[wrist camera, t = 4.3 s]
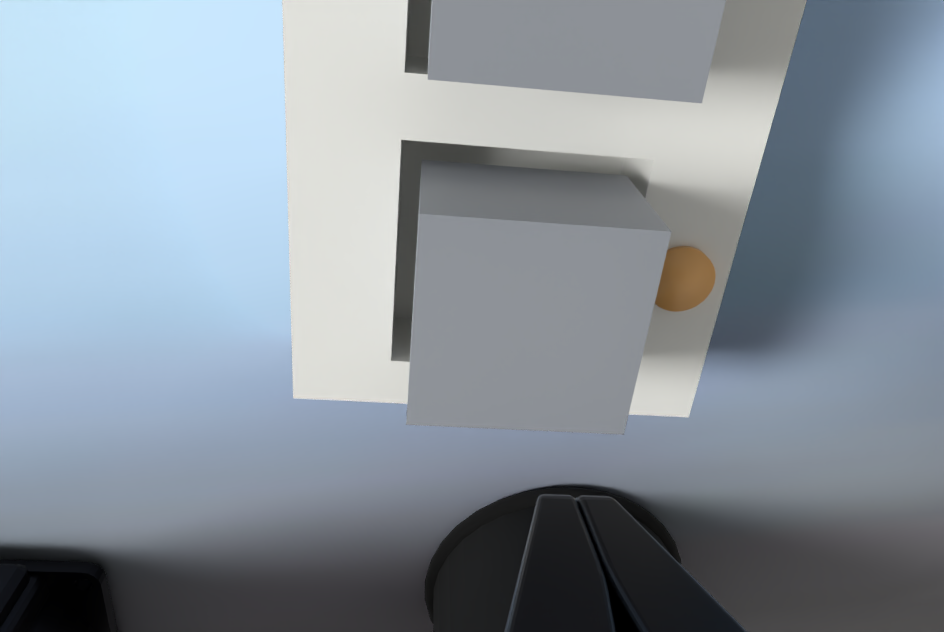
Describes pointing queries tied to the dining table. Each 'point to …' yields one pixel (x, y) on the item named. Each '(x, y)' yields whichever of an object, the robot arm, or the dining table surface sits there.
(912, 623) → the dining table surface
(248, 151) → the dining table surface
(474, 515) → the aerosol can
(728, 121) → the keypad
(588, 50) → the key middle
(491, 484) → the dining table surface
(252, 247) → the dining table surface
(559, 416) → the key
